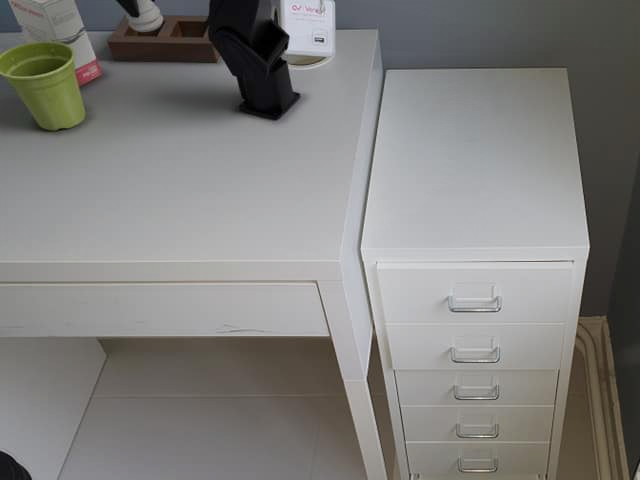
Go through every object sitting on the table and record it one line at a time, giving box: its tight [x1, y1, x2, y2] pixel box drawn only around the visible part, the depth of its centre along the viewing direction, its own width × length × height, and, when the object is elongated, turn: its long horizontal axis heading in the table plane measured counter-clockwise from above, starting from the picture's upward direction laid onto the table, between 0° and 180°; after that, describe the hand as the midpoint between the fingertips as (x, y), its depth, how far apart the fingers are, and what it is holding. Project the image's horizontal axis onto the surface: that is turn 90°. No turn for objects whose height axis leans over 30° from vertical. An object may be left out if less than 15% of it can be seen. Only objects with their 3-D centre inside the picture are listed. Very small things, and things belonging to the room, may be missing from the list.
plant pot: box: [0, 41, 86, 131], centre depth 96 cm, size 9×9×9 cm
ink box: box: [7, 0, 103, 88], centre depth 103 cm, size 9×5×12 cm, turn 58°
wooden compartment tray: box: [106, 13, 221, 64], centre depth 111 cm, size 9×15×3 cm, turn 90°
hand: (143, 9), depth 96 cm, fingers closed on rook chess piece, 4 cm apart
